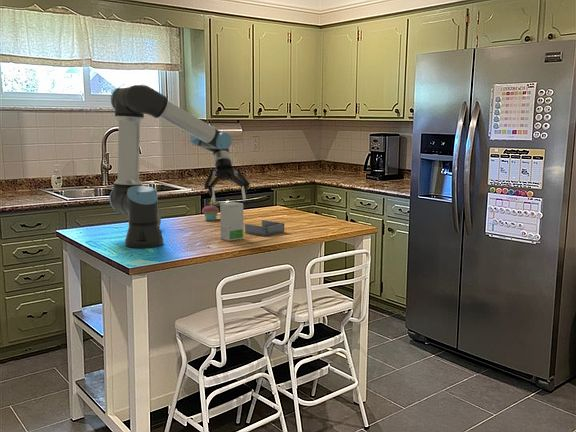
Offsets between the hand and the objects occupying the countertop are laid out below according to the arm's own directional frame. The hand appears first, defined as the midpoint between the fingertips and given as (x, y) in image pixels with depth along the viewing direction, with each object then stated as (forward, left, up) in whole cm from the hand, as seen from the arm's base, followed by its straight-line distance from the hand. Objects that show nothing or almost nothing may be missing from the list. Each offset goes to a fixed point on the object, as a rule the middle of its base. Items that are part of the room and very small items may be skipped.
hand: (229, 200), depth 251 cm
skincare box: (-6, -7, -16) cm, 18 cm away
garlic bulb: (-14, +36, -16) cm, 42 cm away
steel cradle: (+13, -9, -15) cm, 22 cm away
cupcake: (+20, +32, -16) cm, 41 cm away
